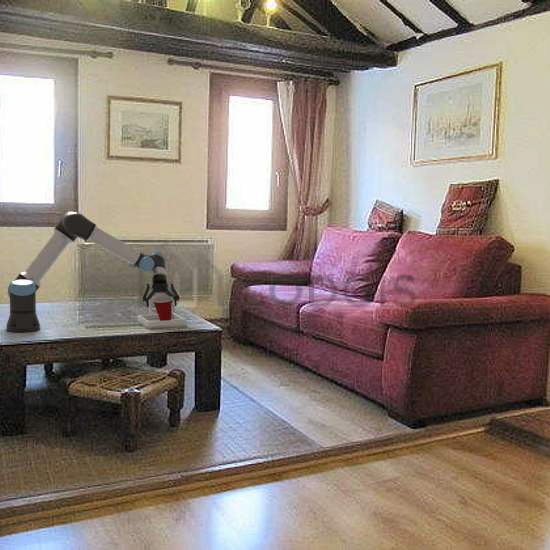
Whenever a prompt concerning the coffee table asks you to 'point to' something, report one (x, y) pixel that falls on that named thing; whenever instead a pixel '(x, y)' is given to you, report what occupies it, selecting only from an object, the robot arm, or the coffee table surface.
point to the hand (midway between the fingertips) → (162, 311)
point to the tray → (154, 321)
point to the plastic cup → (163, 307)
